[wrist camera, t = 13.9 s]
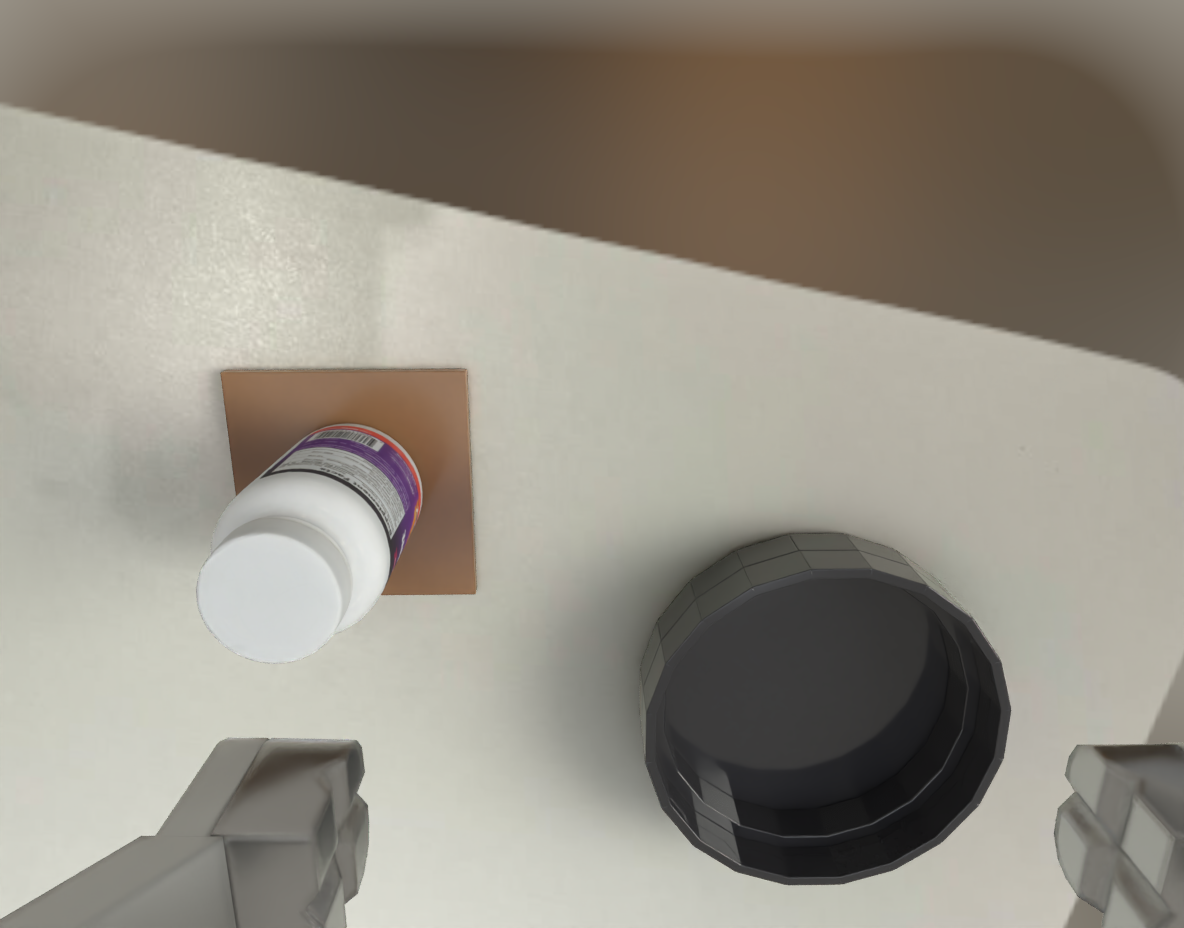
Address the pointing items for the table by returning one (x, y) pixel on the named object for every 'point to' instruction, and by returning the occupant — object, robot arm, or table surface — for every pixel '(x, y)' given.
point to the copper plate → (398, 409)
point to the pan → (819, 710)
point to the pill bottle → (309, 544)
